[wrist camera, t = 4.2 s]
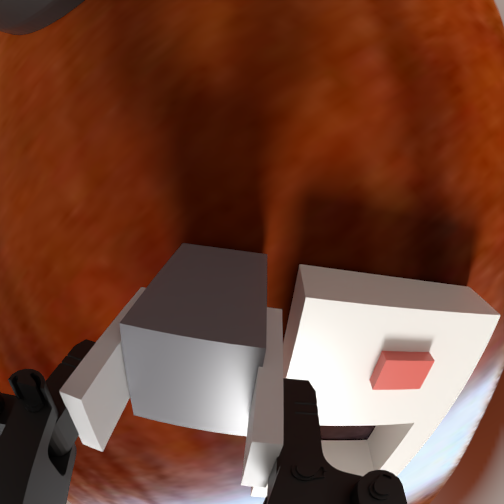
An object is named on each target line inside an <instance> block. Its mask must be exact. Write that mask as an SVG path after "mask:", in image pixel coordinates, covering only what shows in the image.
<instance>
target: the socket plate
mask: <svg viewBox="0 0 504 504" xmlns="http://www.w3.org/2000/svg"><path fill="white" fill-rule="evenodd" d="M500 316H501V315H500V314H499V313H498V312H497V311H496V310H495V309H493V308H492V307H491V306H490V305H489V304H488V303H487V302H486V301H485V300H484V299H482V298H481V297H480V296H479V295H478V294H477V293H476V292H474V291H473V290H472V289H471V288H470V287H467V286H459V285H452V284H444V283H436V282H429V281H421V280H414V279H406V278H399V277H391V276H384V275H376V274H369V273H362V272H354V271H347V270H339V269H332V268H325V267H318V266H310V265H303V264H299V268H298V274H297V279H296V284H295V289H294V294H293V299H292V304H291V309H290V314H289V318H288V323H287V328H286V332H285V337H284V342H283V378H288V379H299V380H309V382H310V383H311V385H312V386H313V388H314V389H315V391H316V398H317V406H318V415H319V424H320V425H325V426H370V425H376V427H375V428H374V430H373V431H372V433H371V435H370V436H369V438H368V439H367V440H321V444H322V451H323V455H324V457H325V459H326V461H327V462H328V463H329V464H330V465H331V466H333V467H334V468H336V469H338V470H340V471H343V472H347V473H351V474H355V475H360V476H364V475H365V474H367V473H368V472H370V471H374V470H386V471H389V472H391V473H393V474H394V475H396V476H398V475H399V473H400V472H401V471H402V470H403V469H404V468H405V467H406V466H407V464H408V463H409V462H410V461H411V460H412V459H413V457H414V456H415V455H416V454H417V453H418V451H419V450H420V449H421V448H422V446H423V445H424V444H425V443H426V441H427V440H428V439H429V437H430V436H431V435H432V433H433V432H434V431H435V429H436V428H437V427H438V425H439V424H440V423H441V421H442V420H443V418H444V417H445V415H446V414H447V412H448V411H449V410H450V408H451V407H452V405H453V403H454V402H455V400H456V399H457V397H458V396H459V394H460V393H461V391H462V389H463V388H464V386H465V384H466V383H467V381H468V379H469V377H470V376H471V374H472V372H473V370H474V369H475V367H476V365H477V363H478V361H479V359H480V358H481V356H482V354H483V352H484V350H485V348H486V346H487V344H488V342H489V340H490V338H491V336H492V333H493V331H494V329H495V327H496V325H497V322H498V320H499V318H500ZM267 488H268V484H267V486H266V488H264V487H253V486H251V496H256V497H266V496H267Z"/></svg>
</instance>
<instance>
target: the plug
mask: <svg viewBox="0 0 504 504" xmlns="http://www.w3.org/2000/svg"><path fill="white" fill-rule="evenodd" d="M119 325H120V333H121V341H122V349H123V356H124V363H125V369H126V375H127V381H128V387H129V392H130V398H131V403H132V408H133V412H134V415H136V416H140V417H144V418H148V419H152V420H156V421H160V422H165V423H169V424H174V425H178V426H183V427H188V428H194V429H199V430H205V431H211V432H218V433H224V434H232V435H240V436H247V429H248V420H249V415H250V410H251V405H252V399H253V394H254V389H255V384H256V378H257V373H258V368H259V367H263V363H264V358H265V353H266V335H267V254H261V253H254V252H246V251H239V250H232V249H224V248H217V247H210V246H202V245H195V244H188V243H182V245H181V246H180V247H179V248H178V249H177V251H176V252H175V253H174V254H173V256H172V257H171V258H170V259H169V260H168V262H167V263H166V264H165V265H164V267H163V268H162V269H161V270H160V272H159V273H158V274H157V275H156V277H155V278H154V279H153V280H152V282H151V283H150V284H149V285H148V287H147V288H146V289H145V290H144V292H143V293H142V294H141V296H140V297H139V298H138V299H137V301H136V302H135V303H134V305H133V306H132V307H131V308H130V310H129V311H128V312H127V314H126V315H125V316H124V318H123V319H122V320H121V322H120V323H119Z"/></svg>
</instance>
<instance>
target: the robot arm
mask: <svg viewBox="0 0 504 504" xmlns="http://www.w3.org/2000/svg"><path fill="white" fill-rule="evenodd" d="M83 1H84V0H0V31H2V32H6V33H9V34H13V35H23V34H28V33H32V32H35V31H37V30H40V29H42V28H44V27H46V26H48V25H50V24H51V23H53V22H55V21H56V20H58V19H60V18H61V17H63V16H64V15H66V14H67V13H69V12H70V11H71V10H73V9H74V8H75V7H77V6H78V5H79V4H81V3H82V2H83ZM145 289H146V288H144V287H141V288H140V289H139V291H138V292H137V293H136V294H135V295H134V297H133V298H132V299H131V300H130V301H129V302H128V304H127V305H126V306H125V307H124V308H123V310H122V311H121V312H120V313H119V315H118V316H117V317H116V318H115V319H114V321H113V322H112V323H111V324H110V326H109V327H108V328H107V329H106V331H105V332H104V333H103V334H102V336H101V337H100V338H99V339H98V341H97V342H93V341H90V340H84V341H82V342H81V343H79V344H77V345H75V346H74V347H73V349H72V350H71V351H70V352H69V353H68V356H66V357H65V358H64V359H63V361H62V363H60V364H59V365H58V367H57V368H56V369H55V370H54V372H53V373H52V374H51V375H50V377H49V378H48V379H47V380H46V382H45V379H44V377H43V376H42V374H41V373H40V372H38V371H36V370H33V369H23V370H19V371H17V372H15V373H14V374H12V375H11V377H10V378H9V379H8V380H9V383H10V385H11V387H12V389H13V391H14V393H15V395H16V396H14V395H9V394H4V393H1V392H0V504H66V502H67V496H68V491H69V486H70V481H71V476H72V471H73V466H74V462H75V457H76V446H75V444H74V442H75V441H76V439H77V437H78V435H79V437H80V439H81V441H82V443H83V444H84V445H87V446H89V447H92V448H94V449H97V450H99V451H102V452H103V450H104V448H105V446H106V444H107V442H108V440H109V438H110V436H111V434H112V432H113V430H114V428H115V426H116V424H117V422H118V420H119V418H120V416H121V414H122V412H123V410H124V408H125V406H126V404H127V402H128V400H129V398H130V392H129V387H128V381H127V375H126V369H125V363H124V356H123V349H122V341H121V333H120V325H119V323H120V322H121V320H122V319H123V318H124V316H125V315H126V314H127V312H128V311H129V310H130V308H131V307H132V306H133V305H134V303H135V302H136V301H137V299H138V298H139V297H140V296H141V294H142V293H143V292H144V290H145ZM267 484H268V488H267V496H266V498H265V500H264V502H263V504H407V501H406V497H405V493H404V489H403V485H402V483H401V481H400V479H399V478H398V477H397V476H396V475H394V474H393V473H391V472H389V471H386V470H374V471H370V472H368V473H367V474H365V475H364V476H360V475H355V474H351V473H347V472H343V471H340V470H338V469H336V468H334V467H333V466H331V465H330V464H329V463H328V462H327V461H326V459H325V457H324V455H323V451H322V444H321V434H320V424H319V415H318V406H317V398H316V391H315V389H314V388H313V386H312V385H311V383H310V382H309V380H299V379H288V378H283V326H282V309H277V308H269V307H267V335H266V353H265V358H264V363H263V367H259V368H258V373H257V378H256V384H255V389H254V394H253V399H252V405H251V410H250V415H249V420H248V429H247V438H246V446H245V455H244V464H243V472H242V480H241V485H243V486H253V487H264V488H266V486H267Z"/></svg>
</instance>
